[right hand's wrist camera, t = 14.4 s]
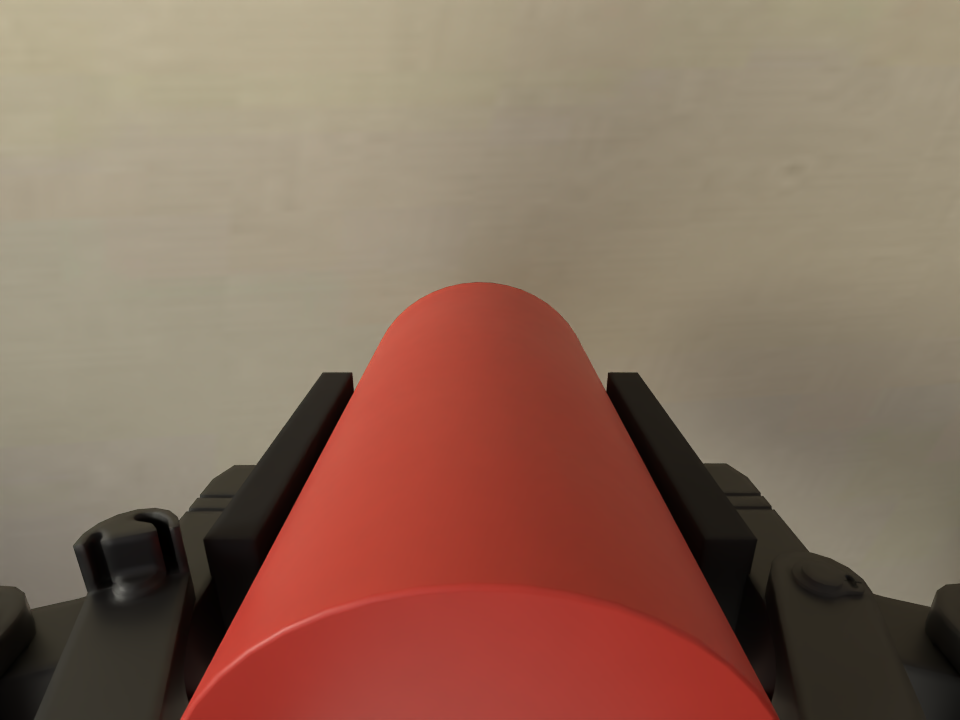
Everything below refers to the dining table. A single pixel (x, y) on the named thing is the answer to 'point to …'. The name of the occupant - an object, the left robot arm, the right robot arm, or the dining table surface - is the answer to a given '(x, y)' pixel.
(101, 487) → the dining table surface
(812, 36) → the dining table surface
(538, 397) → the canister
